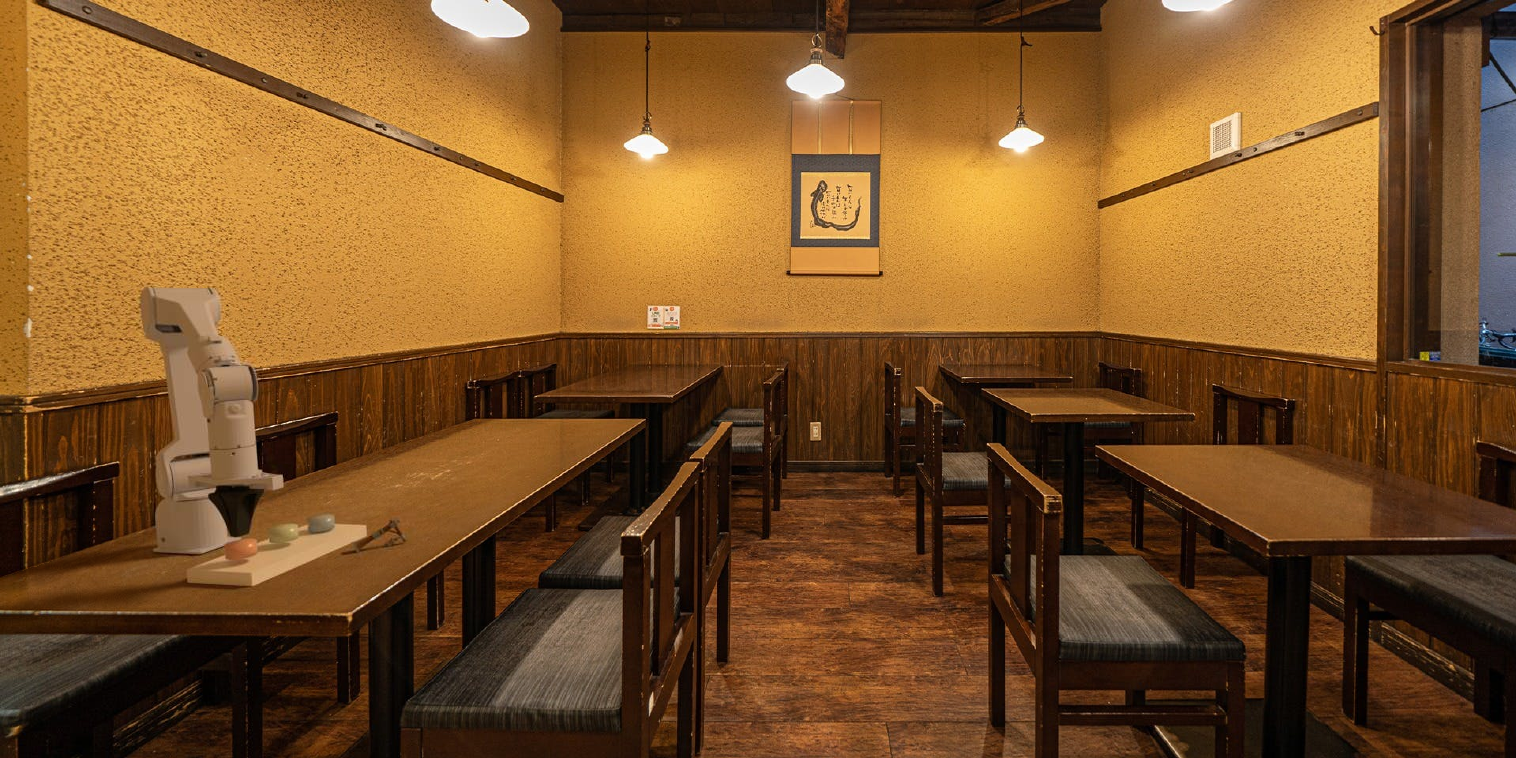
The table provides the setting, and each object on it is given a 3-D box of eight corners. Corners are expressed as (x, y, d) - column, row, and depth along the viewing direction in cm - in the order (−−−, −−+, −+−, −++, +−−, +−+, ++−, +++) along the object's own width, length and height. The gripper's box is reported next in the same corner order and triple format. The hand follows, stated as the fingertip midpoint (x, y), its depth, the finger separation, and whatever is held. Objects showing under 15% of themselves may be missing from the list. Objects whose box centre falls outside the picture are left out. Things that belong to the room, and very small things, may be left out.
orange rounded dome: (218, 559, 109) (217, 546, 108) (241, 550, 113) (240, 538, 112) (241, 560, 108) (240, 547, 108) (264, 551, 112) (263, 539, 112)
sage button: (263, 542, 117) (262, 530, 116) (283, 535, 120) (282, 523, 120) (285, 543, 116) (284, 531, 116) (304, 535, 120) (303, 524, 120)
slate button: (302, 531, 124) (301, 520, 124) (320, 524, 128) (319, 513, 128) (323, 532, 124) (322, 521, 124) (340, 525, 128) (339, 514, 128)
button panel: (187, 582, 108) (186, 569, 107) (312, 533, 131) (311, 522, 131) (252, 586, 106) (251, 572, 106) (366, 536, 129) (366, 525, 129)
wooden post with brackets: (412, 538, 125) (399, 516, 124) (365, 565, 121) (351, 543, 120) (410, 536, 126) (397, 514, 125) (364, 562, 123) (350, 541, 121)
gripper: (296, 442, 112) (303, 528, 113) (215, 441, 114) (222, 525, 115) (258, 450, 105) (265, 543, 106) (172, 449, 107) (180, 539, 108)
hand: (240, 535), depth 110 cm, fingers closed
